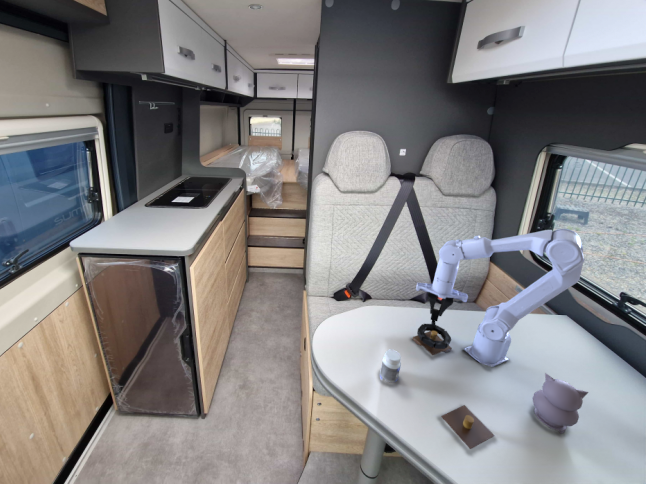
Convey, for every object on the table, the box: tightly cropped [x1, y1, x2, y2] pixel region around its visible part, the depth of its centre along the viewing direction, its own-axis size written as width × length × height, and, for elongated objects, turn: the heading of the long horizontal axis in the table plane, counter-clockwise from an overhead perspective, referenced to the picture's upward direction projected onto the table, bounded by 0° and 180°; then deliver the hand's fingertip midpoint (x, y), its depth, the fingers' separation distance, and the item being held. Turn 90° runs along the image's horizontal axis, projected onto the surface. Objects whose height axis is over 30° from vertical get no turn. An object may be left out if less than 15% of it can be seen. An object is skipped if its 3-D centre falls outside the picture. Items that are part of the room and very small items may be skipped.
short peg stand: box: [440, 404, 496, 450], centre depth 71 cm, size 8×8×4 cm
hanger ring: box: [417, 308, 452, 349], centre depth 96 cm, size 12×9×6 cm
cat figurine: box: [532, 372, 589, 435], centre depth 73 cm, size 8×8×12 cm
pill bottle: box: [379, 348, 402, 383], centre depth 83 cm, size 5×5×8 cm
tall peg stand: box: [411, 331, 452, 356], centre depth 96 cm, size 8×8×5 cm
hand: (435, 313), depth 100 cm, fingers closed on hanger ring
